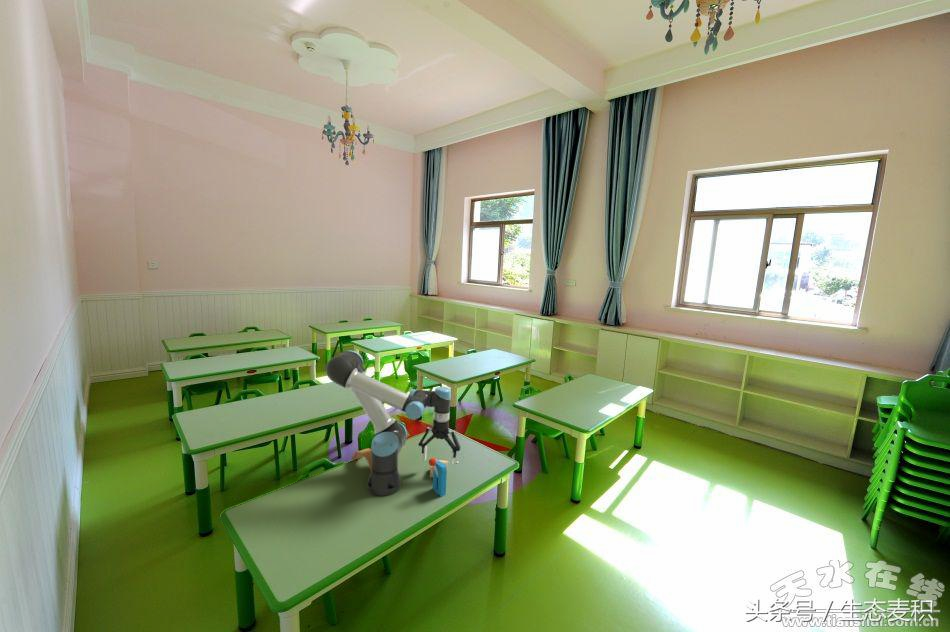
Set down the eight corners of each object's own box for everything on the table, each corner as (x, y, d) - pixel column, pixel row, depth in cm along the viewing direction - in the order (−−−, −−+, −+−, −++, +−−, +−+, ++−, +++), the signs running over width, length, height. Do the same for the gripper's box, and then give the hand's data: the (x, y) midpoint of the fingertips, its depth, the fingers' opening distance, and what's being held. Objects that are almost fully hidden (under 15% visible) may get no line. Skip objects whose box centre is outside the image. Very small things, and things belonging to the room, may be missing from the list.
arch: (372, 481, 182) (372, 461, 180) (350, 464, 195) (351, 445, 194) (383, 476, 186) (383, 457, 185) (361, 461, 199) (361, 442, 198)
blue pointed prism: (423, 494, 173) (425, 456, 171) (436, 489, 177) (438, 452, 175) (432, 502, 168) (433, 462, 166) (445, 496, 172) (447, 458, 170)
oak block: (433, 472, 192) (433, 459, 191) (447, 474, 191) (447, 460, 190) (429, 480, 185) (430, 466, 184) (444, 481, 184) (444, 468, 183)
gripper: (413, 419, 182) (411, 461, 185) (465, 425, 179) (462, 469, 182) (417, 413, 190) (415, 454, 192) (468, 419, 187) (465, 461, 189)
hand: (438, 461), depth 187 cm, fingers open, 13 cm apart
